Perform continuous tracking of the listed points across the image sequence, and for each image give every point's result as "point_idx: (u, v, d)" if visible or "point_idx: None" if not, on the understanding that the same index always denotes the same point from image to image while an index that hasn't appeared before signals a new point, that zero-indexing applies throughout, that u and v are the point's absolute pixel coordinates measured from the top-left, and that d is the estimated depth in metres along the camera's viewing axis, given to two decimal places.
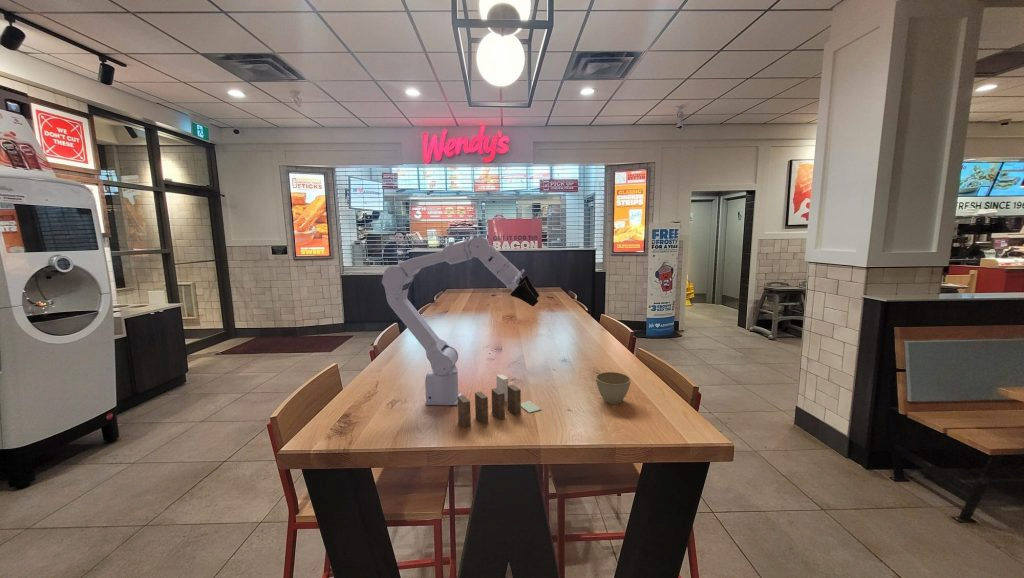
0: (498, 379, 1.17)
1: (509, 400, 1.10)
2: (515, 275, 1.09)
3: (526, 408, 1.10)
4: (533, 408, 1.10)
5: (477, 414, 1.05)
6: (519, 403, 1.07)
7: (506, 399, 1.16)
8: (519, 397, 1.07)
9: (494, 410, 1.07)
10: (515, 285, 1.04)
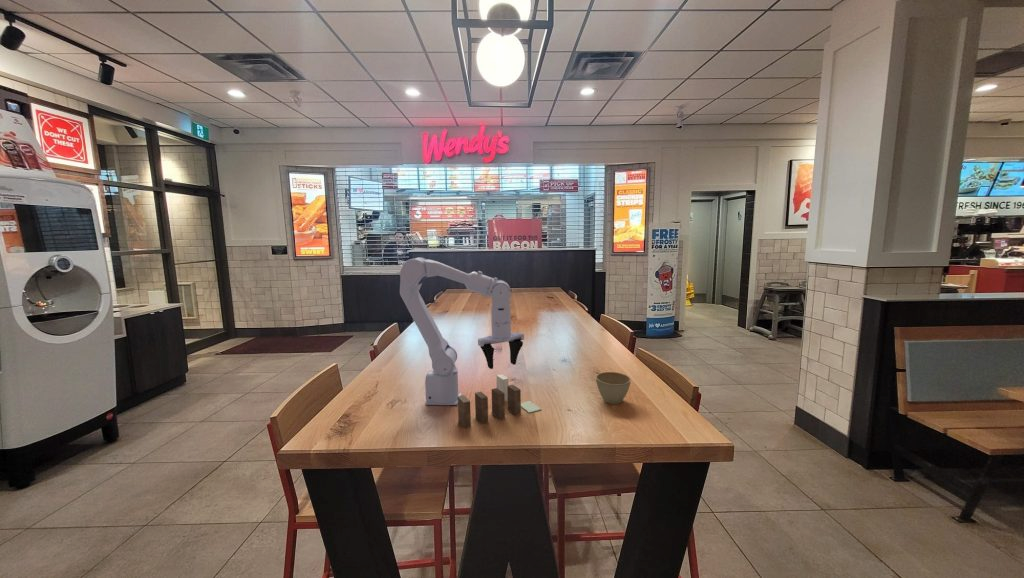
0: (498, 379, 1.17)
1: (509, 400, 1.10)
2: (496, 337, 1.13)
3: (526, 408, 1.10)
4: (533, 408, 1.10)
5: (477, 414, 1.05)
6: (519, 403, 1.07)
7: (506, 399, 1.16)
8: (519, 397, 1.07)
9: (494, 410, 1.07)
10: (480, 344, 1.12)
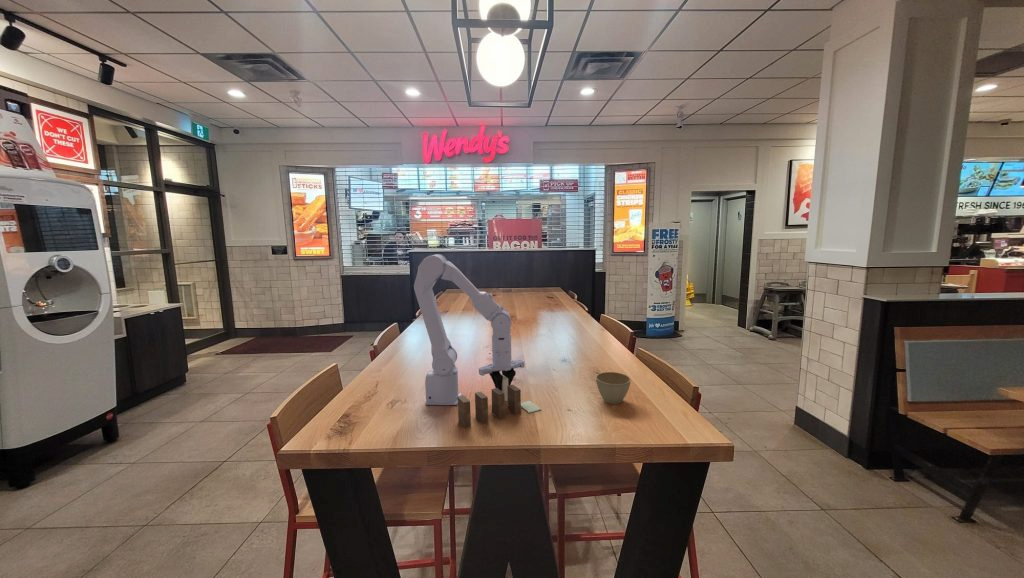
0: None
1: (509, 400, 1.10)
2: (497, 366, 1.14)
3: (526, 408, 1.10)
4: (533, 408, 1.10)
5: (477, 414, 1.05)
6: (519, 403, 1.07)
7: (506, 399, 1.16)
8: (519, 397, 1.07)
9: (494, 410, 1.07)
10: (480, 373, 1.13)
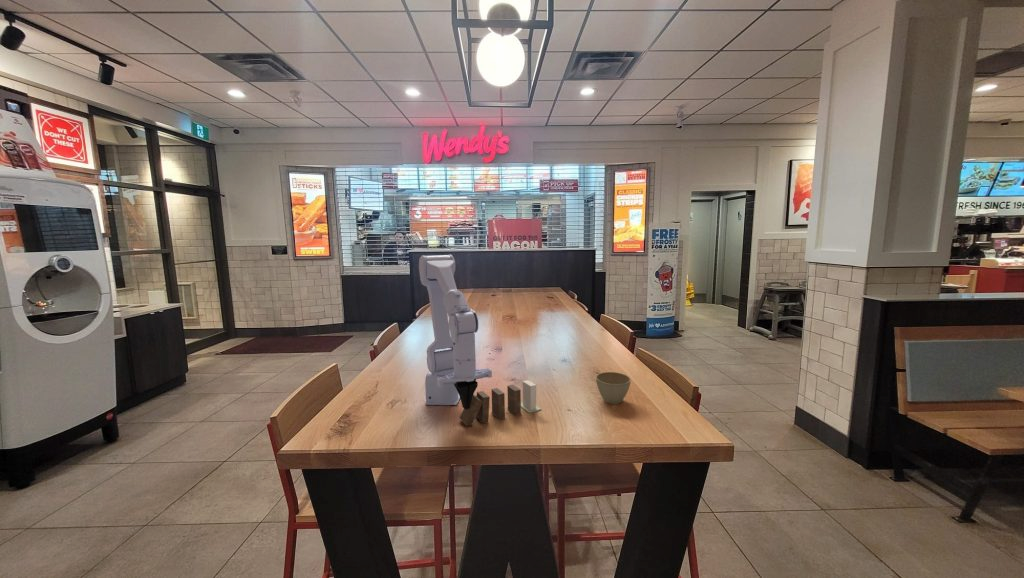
0: (525, 385, 1.11)
1: (509, 400, 1.10)
2: (458, 376, 0.98)
3: (526, 408, 1.10)
4: None
5: None
6: (519, 403, 1.07)
7: (534, 407, 1.10)
8: (519, 397, 1.07)
9: (494, 410, 1.07)
10: (438, 384, 0.97)
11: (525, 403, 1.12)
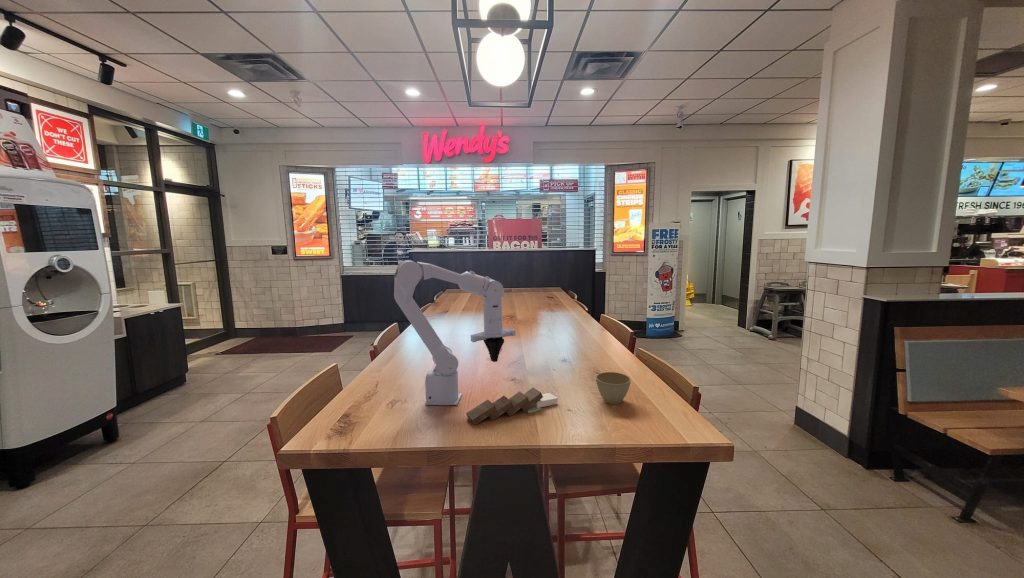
0: (549, 394, 1.16)
1: None
2: (488, 333, 1.18)
3: None
4: (533, 408, 1.10)
5: None
6: (532, 404, 1.09)
7: (539, 405, 1.11)
8: (537, 400, 1.10)
9: None
10: (472, 340, 1.16)
11: None
